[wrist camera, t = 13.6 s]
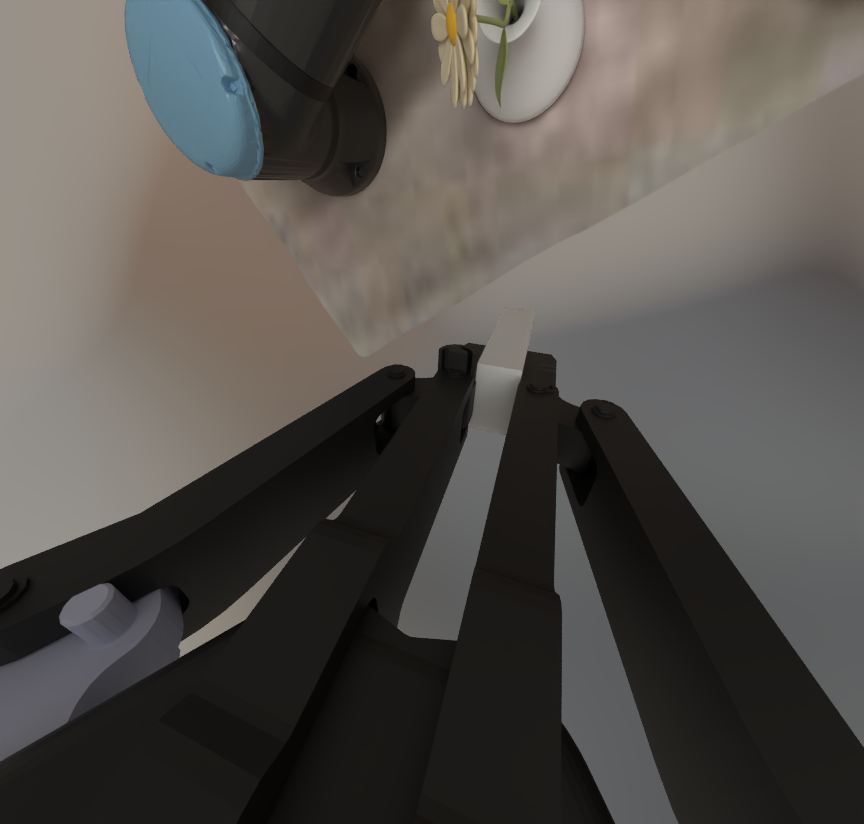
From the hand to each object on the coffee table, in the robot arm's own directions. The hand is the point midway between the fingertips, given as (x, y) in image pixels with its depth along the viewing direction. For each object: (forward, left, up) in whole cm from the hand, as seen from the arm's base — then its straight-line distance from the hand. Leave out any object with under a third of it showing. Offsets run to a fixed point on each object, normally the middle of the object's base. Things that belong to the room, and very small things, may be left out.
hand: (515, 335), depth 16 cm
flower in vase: (-6, +17, -35) cm, 39 cm away
